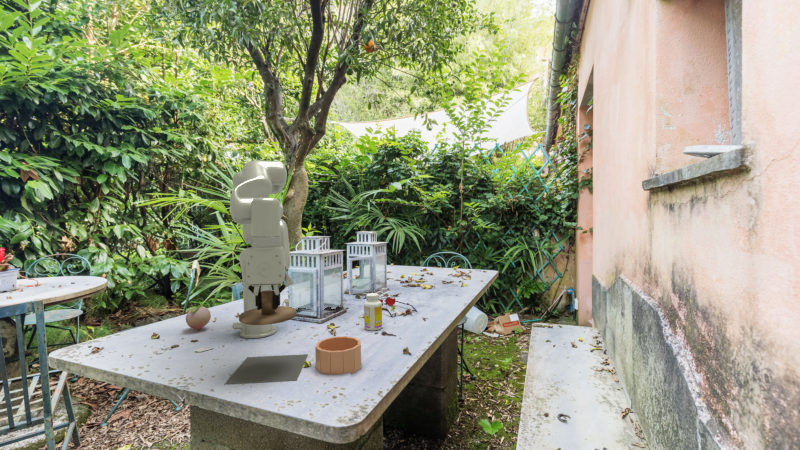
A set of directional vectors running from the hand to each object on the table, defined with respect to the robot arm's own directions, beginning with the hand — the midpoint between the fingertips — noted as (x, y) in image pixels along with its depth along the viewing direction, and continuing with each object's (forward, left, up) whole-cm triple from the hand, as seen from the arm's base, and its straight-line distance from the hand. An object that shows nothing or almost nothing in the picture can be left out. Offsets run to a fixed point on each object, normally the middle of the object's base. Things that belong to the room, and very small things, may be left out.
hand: (268, 307), depth 103 cm
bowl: (+19, 0, -17) cm, 26 cm away
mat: (0, 0, -17) cm, 17 cm away
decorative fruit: (-37, +41, -18) cm, 58 cm away
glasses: (+38, +58, -18) cm, 72 cm away
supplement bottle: (+29, +34, -18) cm, 48 cm away
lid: (0, 0, -2) cm, 2 cm away
